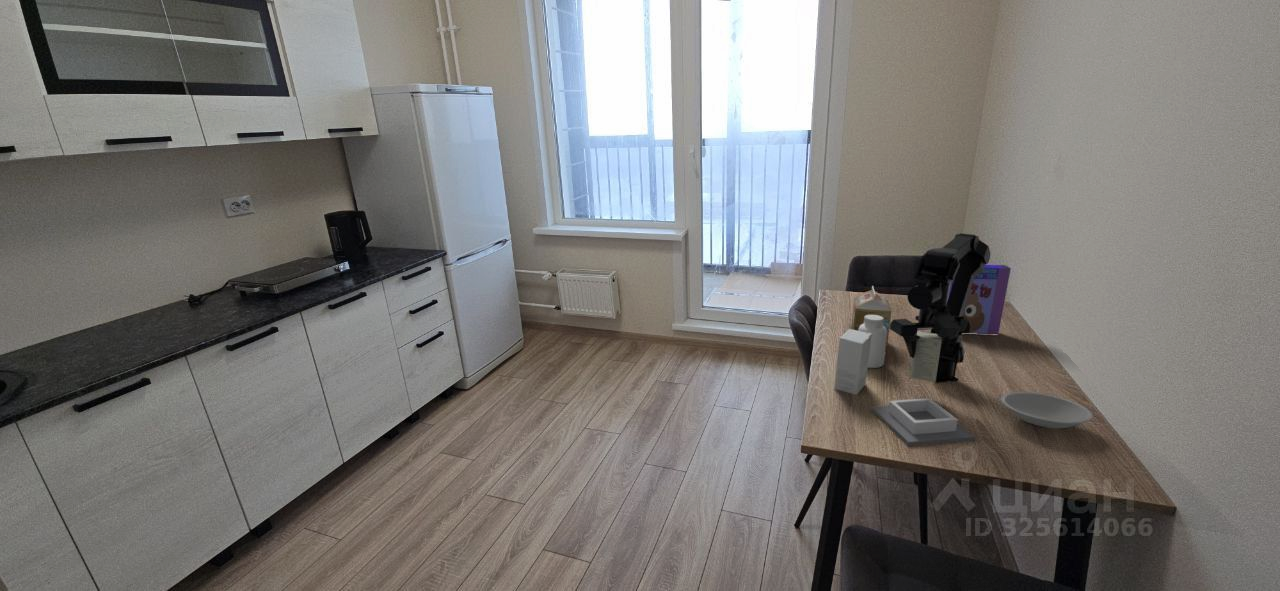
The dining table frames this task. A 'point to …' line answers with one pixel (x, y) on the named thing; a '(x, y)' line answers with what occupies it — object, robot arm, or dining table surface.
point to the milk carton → (871, 310)
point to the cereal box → (986, 299)
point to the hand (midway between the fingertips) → (925, 356)
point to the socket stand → (921, 422)
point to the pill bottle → (875, 339)
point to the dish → (1046, 409)
